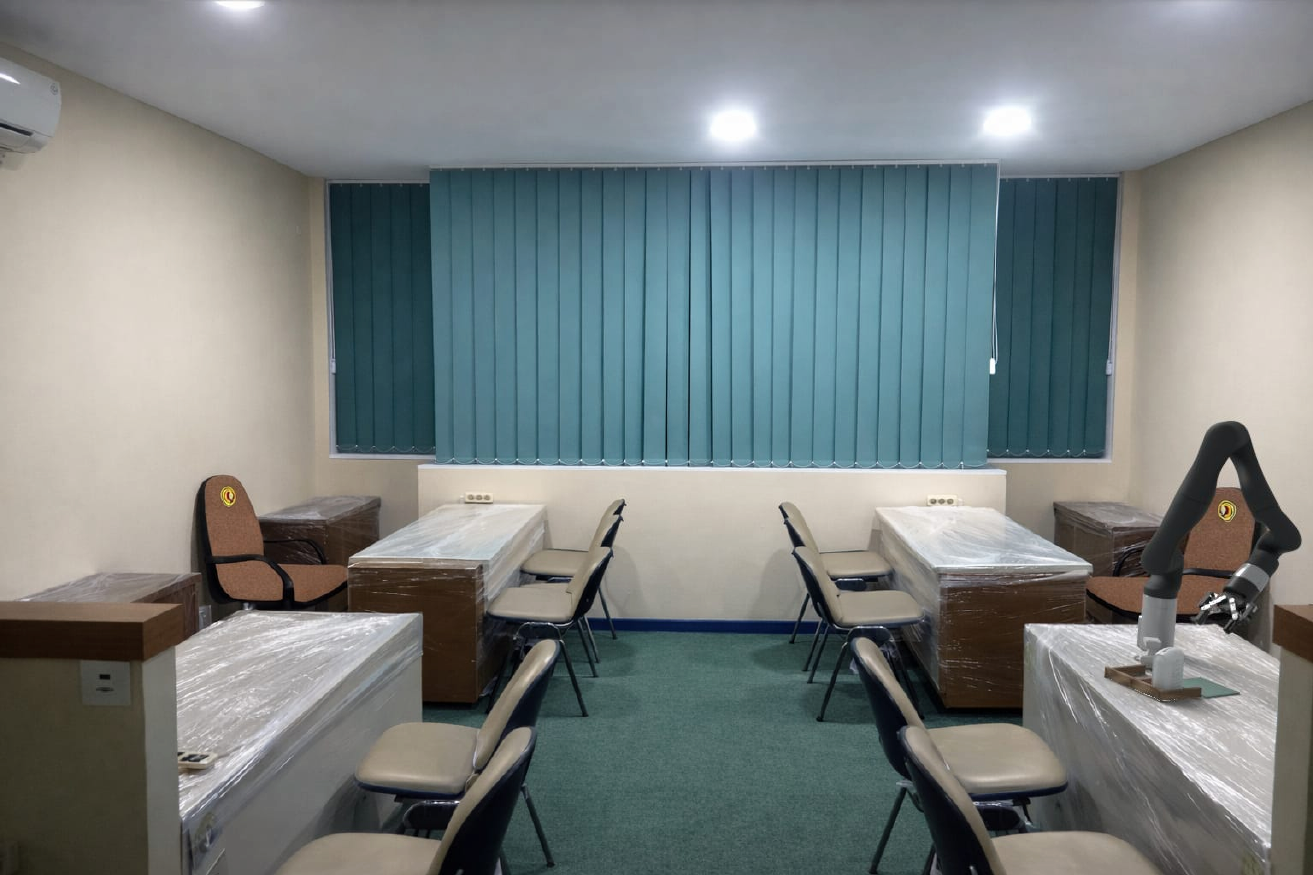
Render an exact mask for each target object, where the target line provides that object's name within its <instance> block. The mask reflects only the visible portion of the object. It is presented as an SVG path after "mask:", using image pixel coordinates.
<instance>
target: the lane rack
mask: <svg viewBox="0 0 1313 875" xmlns="http://www.w3.org/2000/svg"><path fill="white" fill-rule="evenodd" d="M1146 670H1147V668H1146V665H1144V664H1141V663H1140V664H1131V665H1123V666H1112V667H1111V666H1108V665H1107V666H1104V678H1107V679H1108V678H1109V680H1110V679H1112V680H1113V682H1115V683H1117V684H1119V683H1121V684H1123V685H1122V686H1124V685H1125V686H1124V687H1126V686H1127V687H1126V688H1128V687H1130V688H1132V689H1131V690H1133V689H1136V690H1138V691H1140V692H1142V693H1145V694H1147V695H1150V696H1152V697H1155V698H1156V699H1158V700H1160V701H1163V700H1174V699H1175V700H1174V701H1177V700H1176V699H1182V700H1188V699H1187V698H1190V699H1196V698H1202V696H1201V692H1202V688H1201V687H1191V688H1182V689H1175V690H1167V691H1164V690H1162V689H1160V688H1157V687H1155V686H1153V685H1151V683H1152V676H1150V677H1142V678H1141V677H1140V678H1136V677H1134V676H1138V675H1146V674H1145V673H1146ZM1112 680H1111V681H1112ZM1121 684H1120V685H1121ZM1130 688H1129V689H1130ZM1142 693H1141V694H1142Z"/></svg>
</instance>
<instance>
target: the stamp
mask: <svg viewBox="0 0 1313 875" xmlns="http://www.w3.org/2000/svg"><path fill="white" fill-rule="evenodd" d="M1143 641H1144V644H1145V646H1146V648H1148V650H1147V651H1145V650H1142V649H1139V650H1137V652H1136V655H1134V656H1133V660H1134V661H1136V662H1139V663H1140V664H1144V665H1146V669H1150V670H1153V659H1154V656H1155V655H1156V653H1157V652H1155V651H1156V649H1160V647H1161V642H1160V640H1159V639H1158V638H1151V637H1143Z"/></svg>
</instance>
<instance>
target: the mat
mask: <svg viewBox="0 0 1313 875" xmlns="http://www.w3.org/2000/svg"><path fill="white" fill-rule="evenodd" d="M1191 687H1201V688H1202V692H1201V698H1205V699H1211V698H1220V697H1227V696H1233V695H1240V694H1241V691H1237V690H1235V689H1232V688H1231V687H1227V686H1224V685H1222V684H1219V683H1217V682H1214V681H1212V680H1210V679H1207V678H1204V677H1202V676H1198V677H1190V678H1183V680H1182V689H1183V688H1191Z"/></svg>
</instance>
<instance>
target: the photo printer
mask: <svg viewBox="0 0 1313 875" xmlns="http://www.w3.org/2000/svg"><path fill="white" fill-rule="evenodd" d="M1184 664H1185V654H1184V651H1183V650H1181V649H1180V648H1178V647H1175V646H1174V647H1167V648H1164V649H1162V650H1160V651H1159V652H1157V653H1156V655H1155V656H1154V659H1153V669H1151V670H1152V672H1151V677H1152V683H1151V685H1153V686H1155V687H1157V688H1160V689H1162V690H1164V691H1167V690H1175V689H1183V688H1182V680H1183V679H1184V666H1185V665H1184Z"/></svg>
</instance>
